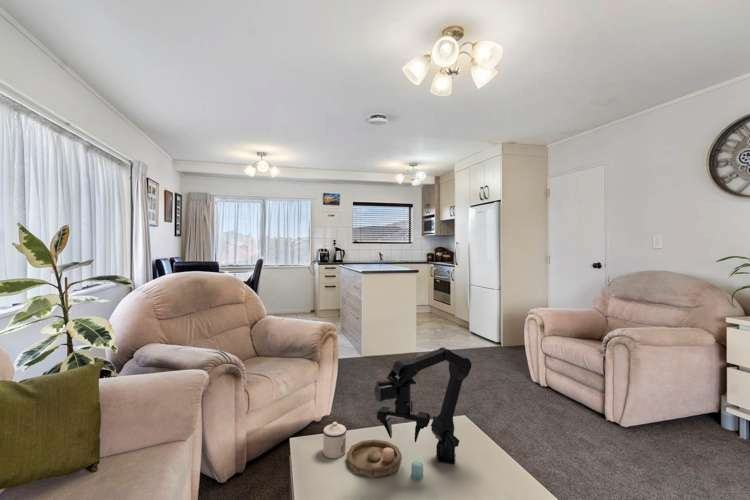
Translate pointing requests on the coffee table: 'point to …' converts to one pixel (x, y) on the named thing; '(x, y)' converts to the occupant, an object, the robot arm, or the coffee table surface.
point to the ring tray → (372, 458)
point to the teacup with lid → (334, 440)
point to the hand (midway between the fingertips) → (403, 439)
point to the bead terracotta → (388, 455)
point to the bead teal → (417, 470)
